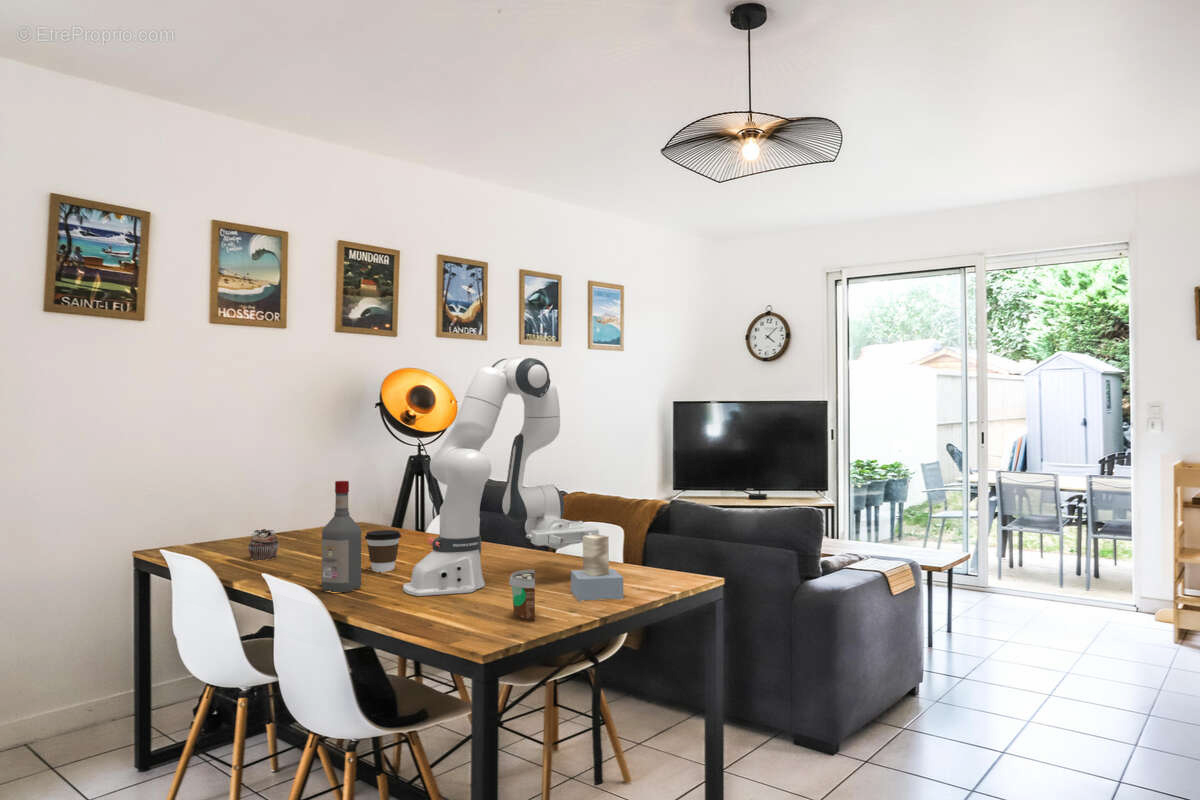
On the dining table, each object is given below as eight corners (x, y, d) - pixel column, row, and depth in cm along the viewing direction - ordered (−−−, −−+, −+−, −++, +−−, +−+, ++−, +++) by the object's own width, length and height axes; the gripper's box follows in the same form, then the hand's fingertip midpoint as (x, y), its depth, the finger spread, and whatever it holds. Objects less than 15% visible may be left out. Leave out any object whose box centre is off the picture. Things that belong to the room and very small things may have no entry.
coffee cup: (385, 566, 250) (385, 528, 250) (408, 570, 243) (408, 531, 244) (357, 571, 241) (357, 533, 241) (380, 576, 234) (380, 536, 235)
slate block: (578, 602, 201) (578, 579, 202) (570, 592, 213) (570, 570, 213) (623, 600, 204) (623, 577, 204) (613, 590, 216) (613, 568, 216)
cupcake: (284, 556, 268) (284, 527, 268) (267, 562, 258) (267, 531, 258) (259, 556, 269) (259, 527, 270) (241, 561, 260) (241, 531, 260)
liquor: (343, 594, 210) (344, 483, 211) (316, 591, 214) (317, 482, 214) (365, 587, 219) (366, 480, 219) (339, 585, 222) (339, 479, 223)
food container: (509, 610, 192) (509, 569, 193) (534, 609, 193) (534, 569, 193) (508, 623, 180) (508, 579, 180) (534, 622, 181) (534, 579, 181)
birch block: (592, 576, 205) (592, 538, 205) (583, 573, 209) (582, 536, 210) (608, 574, 208) (608, 536, 208) (598, 571, 212) (598, 534, 212)
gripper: (523, 524, 227) (542, 530, 215) (586, 520, 236) (607, 526, 224) (523, 546, 227) (542, 553, 214) (586, 541, 236) (607, 548, 224)
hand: (576, 539), depth 219 cm, fingers open, 8 cm apart
